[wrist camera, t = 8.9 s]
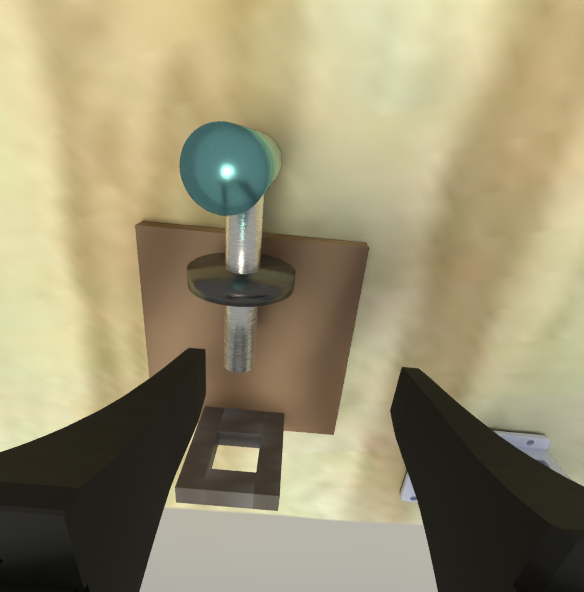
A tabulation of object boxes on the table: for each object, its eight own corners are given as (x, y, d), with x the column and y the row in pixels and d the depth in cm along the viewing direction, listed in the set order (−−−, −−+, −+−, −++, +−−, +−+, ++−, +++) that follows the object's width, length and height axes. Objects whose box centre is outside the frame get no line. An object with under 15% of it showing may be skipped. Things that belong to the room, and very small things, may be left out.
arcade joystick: (308, 136, 16) (313, 130, 10) (287, 338, 21) (281, 432, 14) (204, 125, 16) (134, 112, 10) (206, 331, 21) (160, 422, 14)
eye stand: (365, 242, 20) (397, 291, 13) (332, 424, 26) (343, 521, 19) (142, 221, 20) (64, 259, 13) (158, 409, 25) (109, 501, 19)
